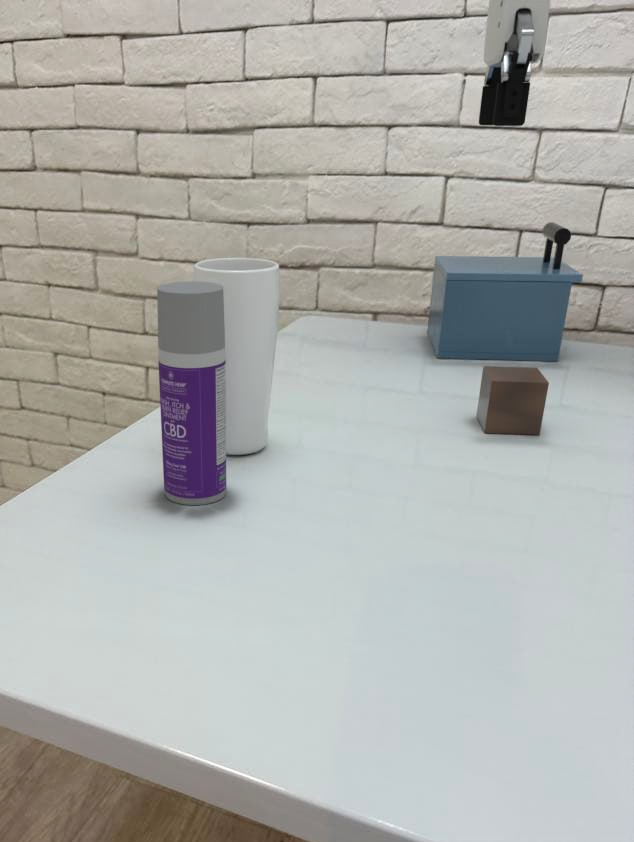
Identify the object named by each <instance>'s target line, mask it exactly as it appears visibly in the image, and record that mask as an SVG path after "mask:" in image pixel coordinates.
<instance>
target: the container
mask: <svg viewBox="0 0 634 842" xmlns="http://www.w3.org/2000/svg"><path fill="white" fill-rule="evenodd" d="M156 294H157V297H156V298H157V302H156V303H157V348H158V349H157V351H158V352H157V353H158V354H157V355H158V356H157V357H158V361H157V362H158V363H157V364H158V381H159V382H158V383H159V401H160V402H159V404H160V406H159V408H160V425H161V447H162V450H161V451H162V468H163V469H162V471H163V473H162V474H163V489H164V491H163V493H164V496H165V498H166V499H168V500H169V501H171V502H174V503H177V504H181V505H186V506H187V505H188V506H201V505H208V504H212V503H216V502H218V501H220V500H222V499H223V498H224V497H225V496H226V494H227V454H226V356H225V326H224V294H223V286H222V285H220V284H216V283H210V282H196V281H194V280H193V281H189V280H188V281H175V282H168V283H164V284H160V285H158V286H157V288H156Z"/></svg>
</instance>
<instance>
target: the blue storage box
mask: <svg viewBox="0 0 634 842" xmlns="http://www.w3.org/2000/svg"><path fill="white" fill-rule="evenodd" d="M432 273H433V276H432V283H431V293H430V303H429V311H428V323H427V331H426V333H427V336H428V338H429V341H430V343H431V346H432V348H433V350H434V353H435V356H436V358H437V359H447V360H448V359H451V360H452V359H453V360H454V359H455V360H492V361H493V360H494V361H529V362H530V361H531V362H558V361H559V357H560V352H561V346H562V340H563V335H564V331H565V330H564V329H565V324H566V319H567V314H568V307H569V302H570V297H571V291H572V285H573V282H541V281H478V280H446V278H445V277H444V275H443V274H442V272H441V271H440V269H439V268H438V267H437V265H436V264H435V263H434V265H433V272H432Z"/></svg>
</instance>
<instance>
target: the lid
mask: <svg viewBox="0 0 634 842" xmlns="http://www.w3.org/2000/svg"><path fill="white" fill-rule="evenodd" d="M542 236H543V237H544V238H545V239H546V240H545V246H544V251H543V256H539V257H538V256H477V255H476V256H475V255H473V256H471V255H469V256H468V255H465V256H464V255H463V256H462V255H435V256H434V264H436V265H437V267H438V268H439V269H440V271H441V272H442V274H443V275H444V277H445V278H446V280H478V281H541V282H572V283H582V282H583V277H584V274H583V273H581V272H579V271H578V270H576V269H574V268H573V267H572V266H570V265H569V264H567V263H565V262H564V261H563V260H562V259H563V253H564V248H565V245H567V244H568V243H569V242H570V240H571V238H572V232H571V230H569V229H568V228H566V227H564V226H563V225H561V224H558V223H556V222H554V221H553V222H551V221H550V222H547V223H546V224H545V225H544V226H543V228H542ZM554 244H555V251H554V255H553V257H552V251H553V246H554Z"/></svg>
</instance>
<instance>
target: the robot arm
mask: <svg viewBox="0 0 634 842" xmlns="http://www.w3.org/2000/svg"><path fill="white" fill-rule="evenodd" d="M488 1H489V2H488V8H487V9H488V10H487V18H486V27H485V37H484V45H483V46H484V48H483V63H484V64H485V65H486V66H487V67H486V71H485V76H484V79H483V80H484V82H483V86H482V90H481V98H480V100H481V101H480V108H479V116H478V124H479V125H480V126H495V127H522V126H524V124H525V122H526V117H527V110H528V102H529V96H530V89H531V82H530V81H531V77H532V65H533V64H536V63H538V62H539V61H541V60H542V58H543V57H544V55H545V51H546V42H547V34H548V26H549V25H548V24H549V16H550V7H551V0H488Z"/></svg>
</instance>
